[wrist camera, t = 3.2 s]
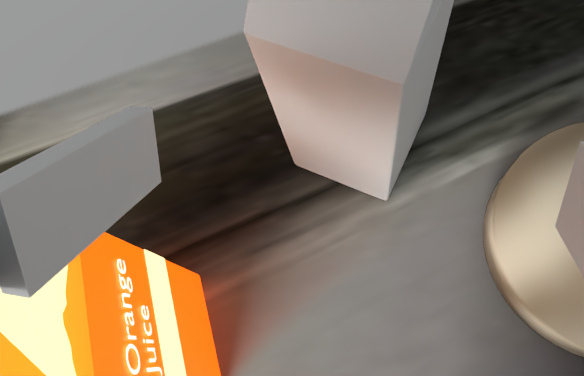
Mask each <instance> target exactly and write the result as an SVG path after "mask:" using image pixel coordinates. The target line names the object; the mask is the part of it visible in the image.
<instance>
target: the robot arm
mask: <svg viewBox="0 0 584 376" xmlns="http://www.w3.org/2000/svg"><path fill="white" fill-rule="evenodd" d="M159 183H161V175H160V167H159V159H158V151H157V143H156V135H155V127H154V119H153V111H152V108H151V107H139V106H130V107H128V108H126V109H124V110H122V111H120V112H119V113H117V114H115V115H113V116H111V117H109V118H107V119H105V120H103V121H101V122H99V123H97V124H95V125H93V126H91V127H89V128H88V129H86V130H84V131H82V132H80V133H78V134H76V135H74V136H72V137H70V138H68V139H66V140H64V141H62V142H60V143H58V144H57V145H55V146H53V147H51V148H49V149H47V150H45V151H43V152H41V153H39V154H37V155H35V156H33V157H31V158H29V159H27V160H25V161H24V162H22V163H20V164H18V165H16V166H14V167H12V168H10V169H8V170H6V171H4V172H2V173H0V288H1V291H2V293H4V294H10V295H15V296H21V297H27V298H30V297H32V296H33V295H34V294H35V293H36V292H37V291H38V290H39V289H41V288H42V287H43V286H44V285H45V284H46V283H47V282H49V281H50V280H51V279H52V278H53V277H54V276H55V275H56V274H58V273H59V272H60V271H61V270H62V269H63V268H64V267H65V266H67V265H68V264H69V263H70V262H71V261H72V260H73V259H75V258H76V257H77V256H78V255H79V254H80V253H81V252H82V251H84V250H85V249H86V248H87V247H88V246H89V245H90V244H92V243H93V242H94V241H95V240H96V239H97V238H98V237H99V236H101V235H102V234H103V233H104V232H105V231H106V230H107V229H108V228H110V227H111V226H112V225H113V224H114V223H115V222H116V221H118V220H119V219H120V218H121V217H122V216H123V215H124V214H125V213H127V212H128V211H129V210H130V209H131V208H132V207H133V206H134V205H136V204H137V203H138V202H139V201H140V200H141V199H142V198H144V197H145V196H146V195H147V194H148V193H149V192H150V191H151V190H153V189H154V188H155V187H156V186H157V185H158V184H159ZM555 227H556V229H557V231H558V233H559V234H560V236H561V238H562V240H563V242H564V243H565V245H566V247H567V249H568V251H569V252H570V254H571V256H572V258H573V260H574V262H575V263H576V265H577V267H578V269H579V271H580V272H581V274H582V276H583V278H584V142H582V141H580V144H579V148H578V151H577V154H576V158H575V161H574V164H573V168H572V171H571V174H570V178H569V181H568V184H567V188H566V191H565V194H564V198H563V201H562V204H561V208H560V211H559V214H558V218H557V221H556V224H555Z"/></svg>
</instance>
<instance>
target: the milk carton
mask: <svg viewBox="0 0 584 376" xmlns="http://www.w3.org/2000/svg"><path fill="white" fill-rule="evenodd" d="M453 2H454V0H248V6H247V11H246V17H245V22H244V27H243V32H244V33H245V36H246V38H247V41H248V44H249V46H250V49H251V51H252V54H253V57H254V59H255V62H256V64H257V67H258V70H259V72H260V75H261V78H262V80H263V83H264V85H265V88H266V91H267V93H268V96H269V98H270V101H271V104H272V106H273V109H274V111H275V114H276V117H277V119H278V122H279V124H280V127H281V130H282V132H283V135H284V138H285V140H286V143H287V145H288V148H289V151H290V153H291V156H292V158H293V161H294V163H295V164H296V165H297V166H300V167H302V168H304V169H307V170H309V171H312V172H314V173H317V174H319V175H322V176H324V177H327V178H329V179H332V180H334V181H337V182H339V183H342V184H344V185H347V186H349V187H352V188H354V189H357V190H359V191H362V192H364V193H367V194H369V195H372V196H374V197H377V198H379V199H382V200H388V198H389V196H390V193H391V191H392V189H393V187H394V184H395V182H396V180H397V178H398V175H399V173H400V171H401V168H402V166H403V164H404V162H405V159H406V157H407V155H408V153H409V150H410V148H411V146H412V144H413V141H414V139H415V137H416V135H417V132H418V130H419V128H420V125H421V123H422V121H423V119H424V116H425V114H426V110H427V106H428V102H429V98H430V94H431V90H432V86H433V82H434V78H435V74H436V70H437V66H438V62H439V58H440V54H441V50H442V46H443V42H444V38H445V34H446V30H447V26H448V22H449V18H450V14H451V10H452V6H453Z"/></svg>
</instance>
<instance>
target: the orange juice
mask: <svg viewBox="0 0 584 376" xmlns="http://www.w3.org/2000/svg"><path fill="white" fill-rule="evenodd" d="M0 376H221V374H220V369H219V365H218V360H217V355H216V350H215V346H214V341H213V336H212V331H211V327H210V322H209V317H208V312H207V308H206V303H205V298H204V293H203V289H202V284H201V279H200V275H198V274H196V273H194V272H192V271H189V270H187V269H185V268H183V267H181V266H178V265H176V264H174V263H172V262H169V261H167V260H165V258H163V257H161V256H159V255H157V254H154V253H152V252H150V251H148V250H146V249H141V248H138V247H136V246H134V245H132V244H130V243H127V242H125V241H123V240H121V239H119V238H116V237H114V236H112V235H110V234H107V233H105V232H104V233H103V234H102V235H101V236H99V237H98V238H97V239H96V240H95V241H94V242H93V243H92V244H90V245H89V246H88V247H87V248H86V249H85V250H84V251H82V252H81V253H80V254H79V255H78V256H77V257H76V258H75V259H73V260H72V261H71V262H70V263H69V264H68V265H67V266H65V267H64V268H63V269H62V270H61V271H60V272H59V273H58V274H56V275H55V276H54V277H53V278H52V279H51V280H50V281H49V282H47V283H46V284H45V285H44V286H43V287H42V288H41V289H39V290H38V291H37V292H36V293H35V294H34V295H33V296H32V297H30V298H27V297H21V296H15V295H10V294H4V293H2V291H1V288H0Z"/></svg>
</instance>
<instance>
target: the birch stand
mask: <svg viewBox="0 0 584 376" xmlns="http://www.w3.org/2000/svg"><path fill="white" fill-rule="evenodd" d="M580 141H582V142H584V122H582V123H577V124H572V125H569V126H566V127H563V128H561V129H558V130H556V131H554V132H552V133H550V134H548V135H546V136H544V137H542V138H541V139H539V140H538V141H536V142H535V143H533V144H532V145H531V146H530V147H529V148H527V149H526V150H525V151H524V152H523V153H522V154H521V155H520V156H519V157H518V159H517V160H516V161H515V162H514V163H513V165H512V166H511V167H510V168H509V170H508V171H507V172H506V174H505V175H504V176H503V177H502V179H501V180H500V181H499V183H498V184H497V186H496V188H495V189H494V191H493V193H492V195H491V197H490V200H489V202H488V205H487V208H486V212H485V216H484V225H483V245H484V251H485V256H486V260H487V264H488V267H489V270H490V273H491V275H492V277H493V279H494V281H495V284H496V286H497V288H498V289H499V291H500V293H501V294H502V296H503V297H504V299H505V301H506V302H507V303H508V304H509V306H510V307H511V308H512V309H513V311H514V312H515V313H516V314H517V315H518V316H519V317H520V318H521V319H522V320H523V321H524V322H525V323H526V324H527V325H528V326H529V327H530V328H532V329H533V330H534V331H535V332H537V333H538V334H539V335H541V336H542V337H543V338H545V339H547V340H548V341H550V342H551V343H553V344H555V345H556V346H558V347H560V348H562V349H564V350H566V351H568V352H571V353H573V354H575V355H578V356H581V357H584V278H583V276H582V274H581V272H580V271H579V269H578V267H577V265H576V263H575V262H574V260H573V258H572V256H571V254H570V252H569V251H568V249H567V247H566V245H565V243H564V242H563V240H562V238H561V236H560V234H559V233H558V231H557V229H556V227H555V224H556V221H557V218H558V214H559V211H560V208H561V204H562V201H563V198H564V194H565V191H566V188H567V184H568V181H569V178H570V174H571V171H572V168H573V164H574V161H575V158H576V154H577V151H578V148H579V144H580Z"/></svg>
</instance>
